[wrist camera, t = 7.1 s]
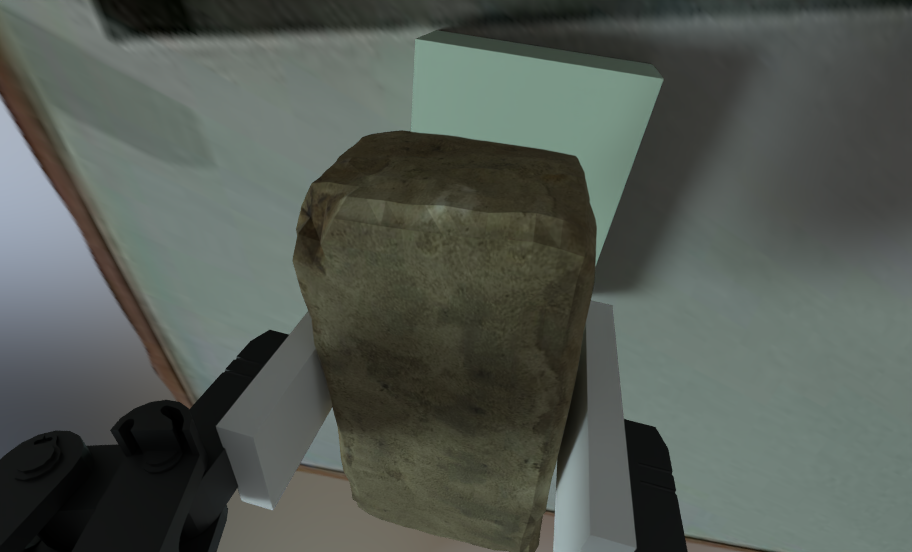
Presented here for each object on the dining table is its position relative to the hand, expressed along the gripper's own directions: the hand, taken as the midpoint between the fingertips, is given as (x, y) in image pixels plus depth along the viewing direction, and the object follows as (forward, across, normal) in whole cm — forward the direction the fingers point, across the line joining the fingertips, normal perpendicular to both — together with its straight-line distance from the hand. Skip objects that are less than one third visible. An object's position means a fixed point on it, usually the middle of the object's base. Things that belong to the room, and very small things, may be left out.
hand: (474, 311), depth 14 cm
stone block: (+1, 0, 0) cm, 1 cm away
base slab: (+10, 0, 0) cm, 10 cm away
